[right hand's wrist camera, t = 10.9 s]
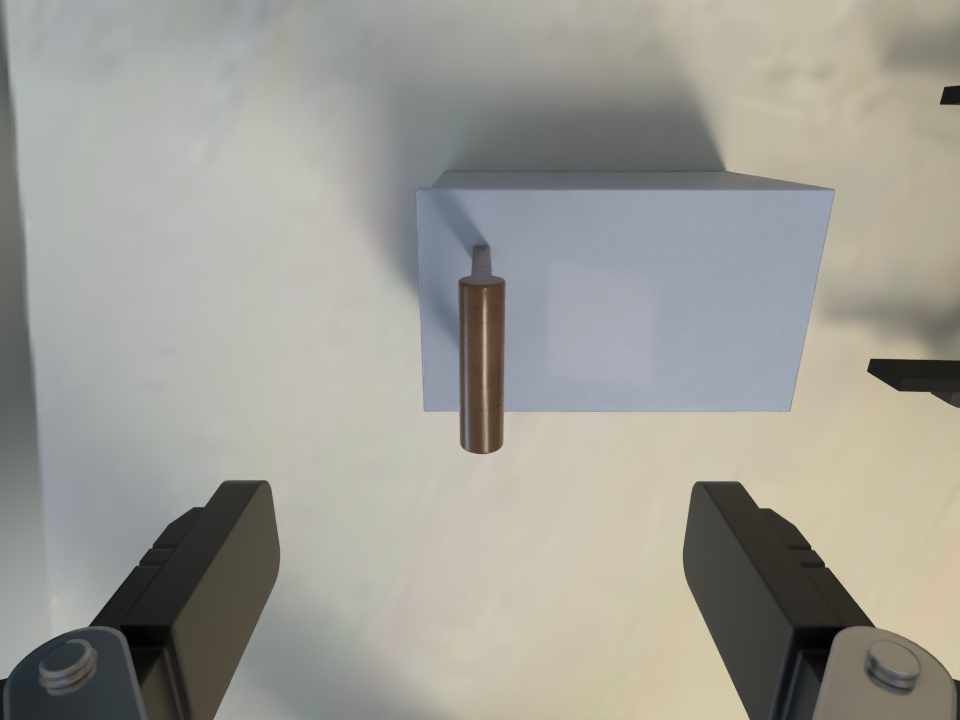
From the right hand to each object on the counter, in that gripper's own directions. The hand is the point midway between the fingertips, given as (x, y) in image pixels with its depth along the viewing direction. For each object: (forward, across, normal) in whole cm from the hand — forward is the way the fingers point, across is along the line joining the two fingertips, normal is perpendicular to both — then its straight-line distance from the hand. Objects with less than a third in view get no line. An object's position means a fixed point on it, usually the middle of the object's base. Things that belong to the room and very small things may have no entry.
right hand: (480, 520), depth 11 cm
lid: (+16, -6, 0) cm, 17 cm away
